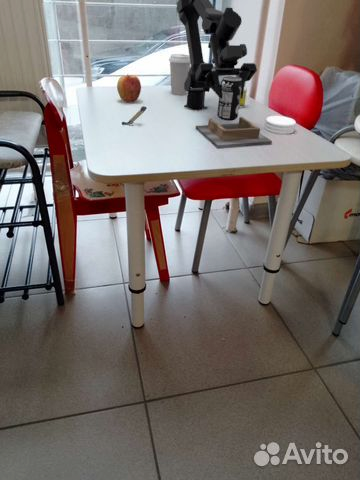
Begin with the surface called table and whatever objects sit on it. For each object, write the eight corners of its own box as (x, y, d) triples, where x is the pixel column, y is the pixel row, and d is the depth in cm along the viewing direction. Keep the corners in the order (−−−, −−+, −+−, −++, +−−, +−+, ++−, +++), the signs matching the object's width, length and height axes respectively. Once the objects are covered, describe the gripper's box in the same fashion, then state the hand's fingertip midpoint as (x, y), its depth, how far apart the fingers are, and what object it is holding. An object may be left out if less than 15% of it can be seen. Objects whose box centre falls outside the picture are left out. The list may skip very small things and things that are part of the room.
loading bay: (195, 128, 117) (196, 116, 115) (244, 125, 123) (246, 114, 120) (217, 148, 104) (218, 134, 101) (271, 144, 109) (274, 131, 106)
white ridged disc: (299, 134, 118) (301, 124, 116) (271, 135, 117) (273, 124, 114) (285, 125, 126) (288, 115, 124) (259, 125, 124) (261, 115, 122)
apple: (125, 105, 136) (124, 77, 130) (113, 100, 142) (111, 72, 136) (145, 102, 141) (145, 75, 135) (132, 97, 146) (132, 71, 141)
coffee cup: (189, 96, 152) (192, 57, 143) (167, 95, 152) (168, 56, 143) (189, 91, 160) (191, 54, 151) (168, 90, 160) (169, 53, 151)
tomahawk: (140, 130, 117) (140, 126, 116) (121, 126, 118) (121, 122, 117) (158, 112, 134) (158, 109, 133) (141, 108, 134) (141, 105, 134)
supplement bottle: (229, 106, 142) (232, 80, 136) (232, 103, 146) (236, 78, 140) (242, 109, 140) (246, 82, 135) (245, 105, 145) (249, 79, 139)
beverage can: (233, 115, 118) (239, 75, 111) (240, 121, 113) (245, 80, 106) (214, 115, 117) (218, 75, 110) (219, 121, 111) (224, 80, 105)
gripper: (201, 32, 101) (212, 82, 99) (259, 33, 107) (271, 81, 105) (190, 58, 112) (200, 103, 110) (243, 58, 117) (254, 101, 115)
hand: (231, 97), depth 110 cm, fingers closed on beverage can, 7 cm apart
